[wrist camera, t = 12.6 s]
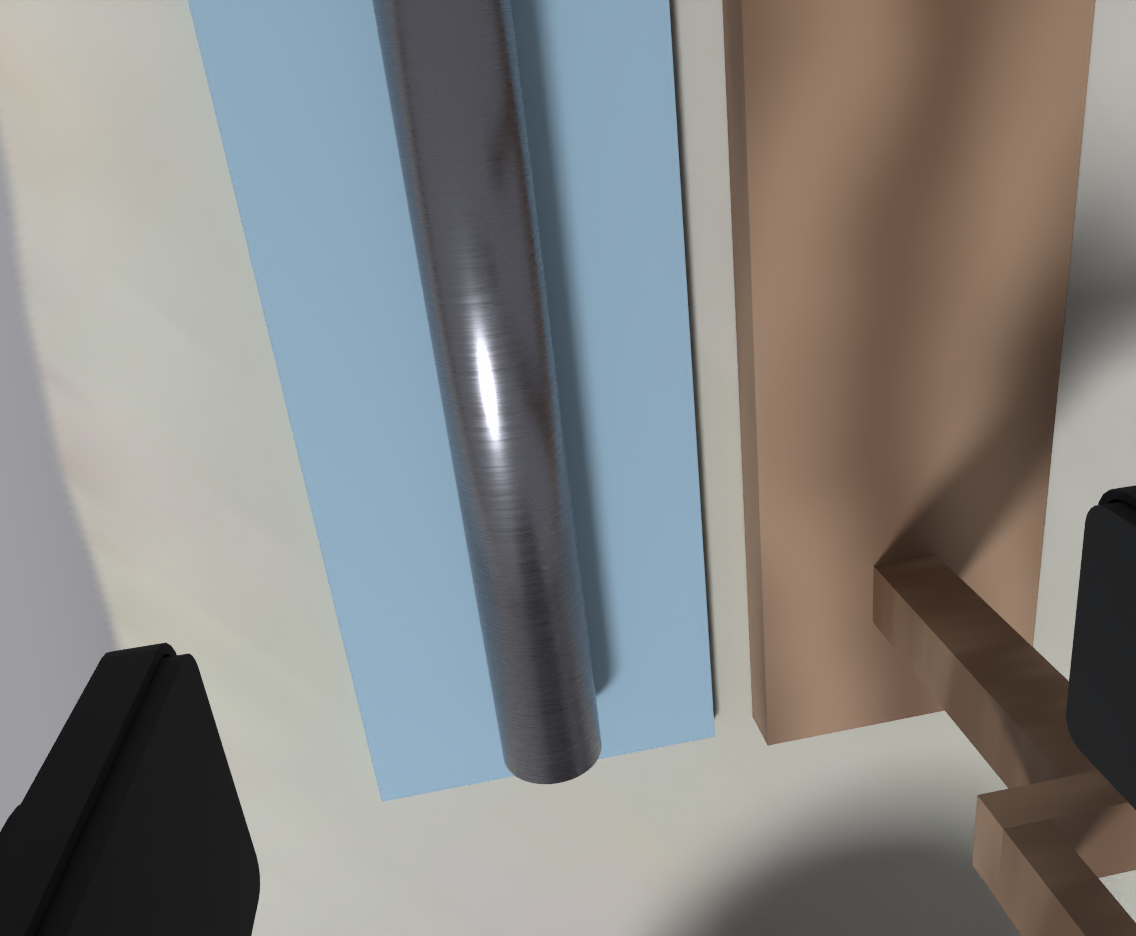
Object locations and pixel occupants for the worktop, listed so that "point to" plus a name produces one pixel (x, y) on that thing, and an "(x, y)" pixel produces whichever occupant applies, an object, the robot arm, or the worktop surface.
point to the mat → (409, 378)
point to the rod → (495, 366)
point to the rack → (916, 398)
